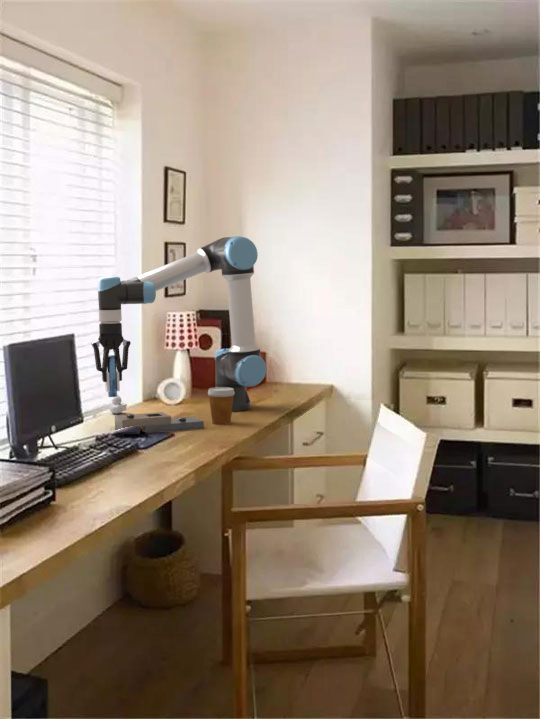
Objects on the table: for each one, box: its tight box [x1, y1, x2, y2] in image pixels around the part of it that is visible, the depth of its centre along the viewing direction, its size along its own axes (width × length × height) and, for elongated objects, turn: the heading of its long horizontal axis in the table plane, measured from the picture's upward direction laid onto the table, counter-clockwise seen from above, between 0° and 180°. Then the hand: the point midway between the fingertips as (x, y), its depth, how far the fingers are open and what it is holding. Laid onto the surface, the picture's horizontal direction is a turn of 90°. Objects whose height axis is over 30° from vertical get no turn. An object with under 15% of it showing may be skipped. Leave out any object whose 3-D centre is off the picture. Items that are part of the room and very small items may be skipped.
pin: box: [107, 354, 118, 398], centre depth 298 cm, size 3×3×14 cm
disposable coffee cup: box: [207, 386, 235, 426], centre depth 302 cm, size 10×10×12 cm
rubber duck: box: [109, 393, 128, 415], centre depth 321 cm, size 5×7×8 cm
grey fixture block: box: [114, 411, 205, 434], centre depth 291 cm, size 28×9×6 cm, turn 115°
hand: (112, 390), depth 298 cm, fingers closed on pin, 3 cm apart
